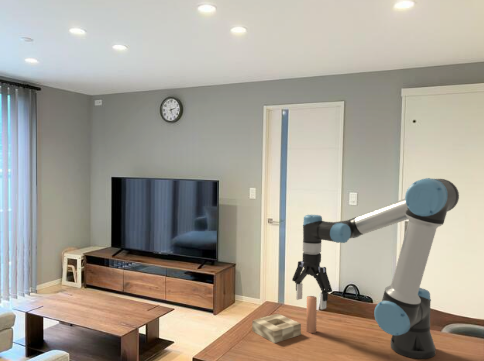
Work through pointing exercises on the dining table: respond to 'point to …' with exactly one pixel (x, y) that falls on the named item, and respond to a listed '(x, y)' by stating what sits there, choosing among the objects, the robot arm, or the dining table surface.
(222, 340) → the dining table surface
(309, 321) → the peg
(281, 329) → the socket block
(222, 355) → the dining table surface
